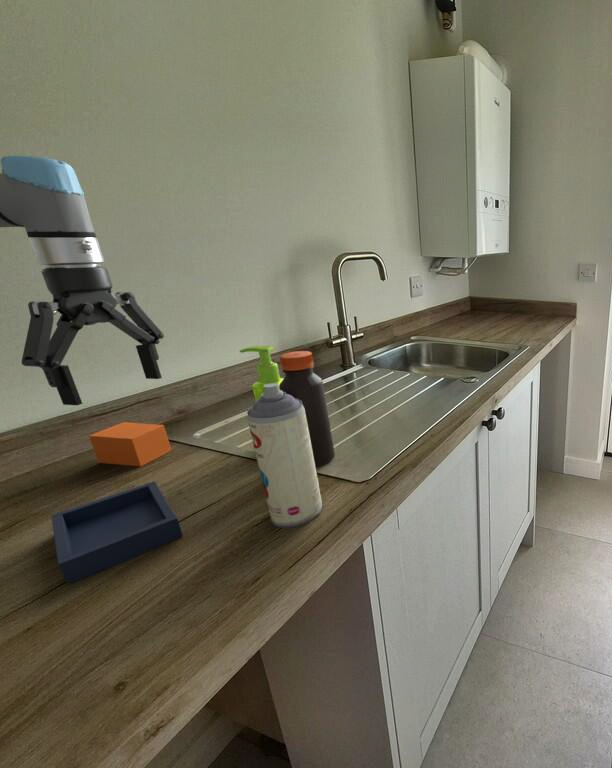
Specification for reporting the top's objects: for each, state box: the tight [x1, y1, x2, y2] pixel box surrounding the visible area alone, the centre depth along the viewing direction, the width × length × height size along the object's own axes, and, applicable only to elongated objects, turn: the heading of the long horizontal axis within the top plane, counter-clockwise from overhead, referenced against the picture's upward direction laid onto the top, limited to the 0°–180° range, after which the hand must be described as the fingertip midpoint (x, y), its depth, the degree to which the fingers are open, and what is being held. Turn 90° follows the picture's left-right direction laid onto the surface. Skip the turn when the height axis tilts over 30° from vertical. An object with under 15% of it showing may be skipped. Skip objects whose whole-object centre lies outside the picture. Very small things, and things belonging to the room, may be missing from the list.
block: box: [88, 421, 172, 467], centre depth 76 cm, size 9×6×6 cm, turn 81°
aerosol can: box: [246, 383, 324, 529], centre depth 57 cm, size 7×7×20 cm
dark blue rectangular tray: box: [50, 480, 184, 586], centre depth 55 cm, size 14×11×3 cm
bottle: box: [279, 350, 335, 468], centre depth 72 cm, size 7×7×20 cm
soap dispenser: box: [239, 345, 285, 402], centre depth 77 cm, size 6×7×20 cm
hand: (117, 390), depth 73 cm, fingers open, 13 cm apart
